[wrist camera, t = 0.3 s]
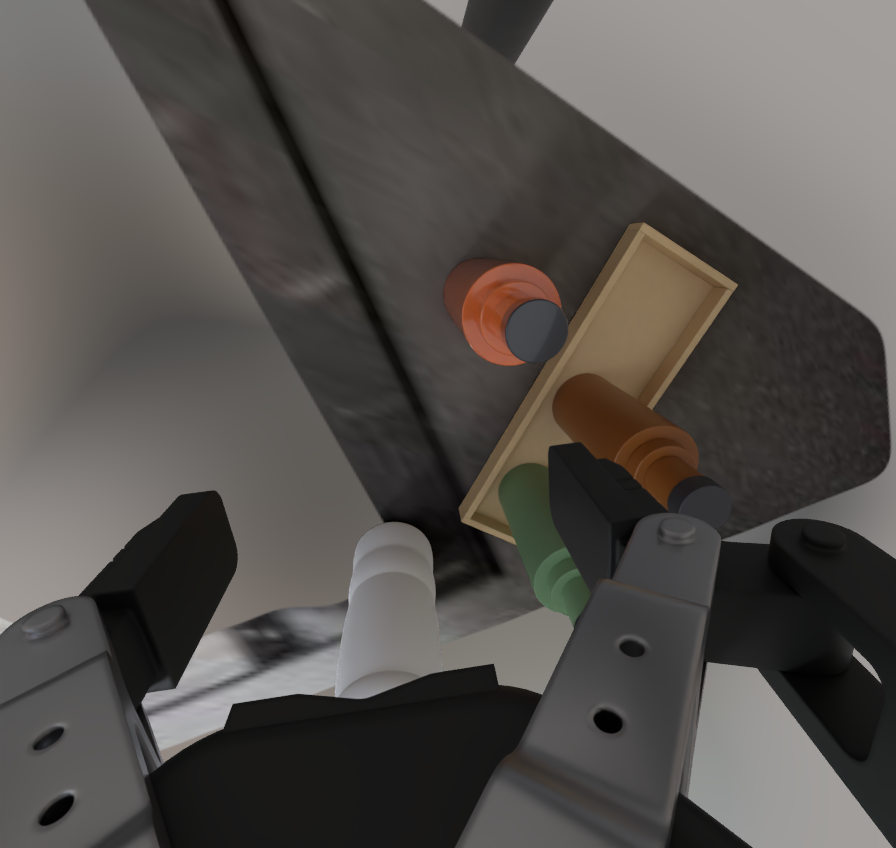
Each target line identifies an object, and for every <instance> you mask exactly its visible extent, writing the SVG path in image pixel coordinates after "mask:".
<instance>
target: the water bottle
mask: <svg viewBox="0 0 896 848" xmlns="http://www.w3.org/2000/svg"><path fill="white" fill-rule="evenodd" d="M353 562H354V563H353V575H352V578H351V582H350V588H349V607H348V611H347V615H346V619H345V623H344V628H343V634H342V639H341V646H340V652H339V659H338V667H337V675H336V686H335V697H341V698H353V699H363V698H368V697H371V696H374V695H376V694H379V693H382V692H384V691H387V690H389V689H392V688H395V687H397V686H400V685H402V684H405V683H408V682H410V681H413V680H415V679H418V678H421V677H423V676H426V675H428V674H431V673H438V672H443V667H442V653H441V643H440V633H439V625H438V619H437V613H436V608H435V596H436V592H435V581H434V577H433V556H432V549H431V545H430V543H429V541H428V539H427V538H426V536H425V535H424V534H423V533H422V532H421V531H420V530H418V529H417V528H415V527H414V526H411V525H409V524H406V523H401V522H387V523H383V524H380V525H377V526H375V527H373V528H371V529H370V530H369V531H367V532H366V533H365V534H364V535H363V536H362V537H361V539H360V540H359V542H358V544H357V546H356V550H355V554H354V561H353Z"/></svg>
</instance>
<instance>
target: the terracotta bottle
mask: <svg viewBox="0 0 896 848" xmlns="http://www.w3.org/2000/svg"><path fill="white" fill-rule="evenodd" d="M443 299H444V305H445V308H446V310H447V312H448V314H449V315H450V317H451V318H452V320H453V321H454V323H455V324H456V326H457V327H458V329H459V330H460V331H461V333H462V334H463V336H464V337H465V339H466V340H467V342H468V343H469V344H470V346H471V347H472V348H473V350H474V351H475V352H476V353H477V354H478V355H479V356H481V357H482V358H484V359H485V360H487V361H489V362H491V363H494V364H498V365H504V366H513V365H520V364H523V363H526V362H527V363H542V362H545V361H547V360H550V359H551V358H553V357H554V356H555V355H557V354H558V353H559V352H560V350H561V349H562V348H563V346H564V344H565V342H566V339H567V336H568V322H567V318H566V315H565V314H564V312H563V310H562V309H561V302H560V297H559V294H558V292H557V289H556V288H555V286H554V284H553V283H552V281H551V280H550V279H549V278H548V277H547V276H546V275H545V274H544V273H543V272H541V271H540V270H538V269H537V268H535V267H532V266H530V265H526V264H522V263H515V262H507V261H500V260H492V259H485V258H474V259H469V260H466V261H464V262H462V263H460V264H459V265H458V266H456V267H455V268H454V269H453V270H452V272H451V273H450V274H449V276H448V278H447V280H446V282H445V285H444V291H443Z"/></svg>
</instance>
